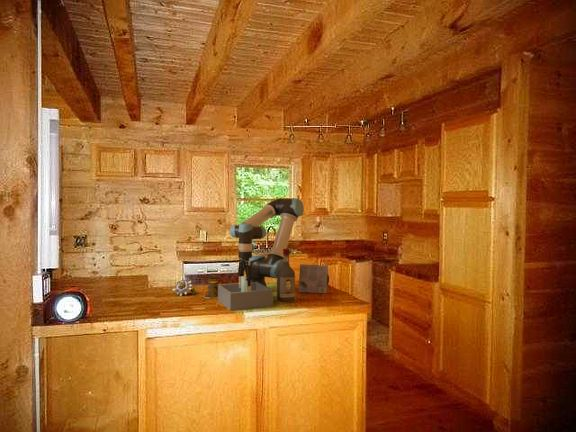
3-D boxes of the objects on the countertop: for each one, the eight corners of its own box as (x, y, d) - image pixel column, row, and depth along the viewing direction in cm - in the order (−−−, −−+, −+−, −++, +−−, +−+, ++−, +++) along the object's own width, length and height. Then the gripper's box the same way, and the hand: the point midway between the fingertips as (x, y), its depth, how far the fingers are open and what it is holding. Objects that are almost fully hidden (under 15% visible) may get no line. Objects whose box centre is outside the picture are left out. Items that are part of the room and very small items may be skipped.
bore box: (217, 300, 227) (218, 284, 227) (256, 296, 237) (257, 281, 237) (230, 310, 205) (230, 293, 205) (272, 306, 216) (273, 289, 215)
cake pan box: (328, 292, 253) (329, 264, 253) (328, 293, 248) (329, 265, 248) (299, 290, 255) (299, 263, 255) (298, 292, 250) (298, 264, 250)
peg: (240, 302, 222) (240, 276, 222) (246, 302, 224) (247, 275, 223) (242, 304, 219) (242, 277, 218) (249, 303, 220) (249, 277, 220)
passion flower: (181, 305, 237) (168, 289, 234) (184, 297, 247) (173, 282, 245) (196, 295, 236) (184, 279, 233) (199, 287, 246) (187, 272, 244)
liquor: (275, 299, 231) (276, 248, 231) (290, 298, 235) (290, 248, 234) (280, 303, 223) (281, 250, 222) (295, 301, 226) (296, 249, 225)
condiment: (220, 297, 236) (220, 277, 235) (206, 298, 231) (207, 278, 231) (215, 294, 242) (215, 275, 241) (202, 296, 237) (202, 276, 237)
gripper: (232, 248, 229) (231, 286, 230) (246, 253, 208) (245, 294, 209) (244, 248, 233) (244, 285, 233) (259, 253, 211) (258, 293, 212)
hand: (244, 289), depth 221 cm, fingers open, 11 cm apart
